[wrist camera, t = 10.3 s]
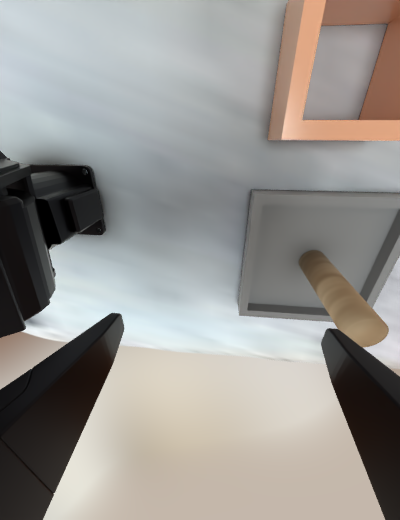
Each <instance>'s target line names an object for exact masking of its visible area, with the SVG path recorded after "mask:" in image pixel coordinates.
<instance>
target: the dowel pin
mask: <svg viewBox="0 0 400 520" xmlns="http://www.w3.org/2000/svg"><path fill="white" fill-rule="evenodd" d="M299 266H300V268H301V269H302V271H303V273H304V274H305V276H306V278H307V279H308V281H309V283H310V284H311V286H312V287H313V289H314V291H315V292H316V294H317V296H318V297H319V299H320V300H321V302H322V304H323V305H324V307H325V309H326V310H327V312H328V313H329V315H330V317H331V318H332V320H333V322H334V323H335V325H336V326H337V328H338V329H339V330H340V331H342V332H343V333H344V334H345V335H347V336H348V337H349V338H351V339H352V340H353V341H354V342H356V343H357V344H358V345H360V346H361V347H369V346H372V345H375V344H377V343H379V342H381V341H382V340H383V339H384V338H385V337H386V336H387V334H388V331H389V329H388V326H387V325H386V323H385V322H384V321H383V320H382V319H381V318H380V317H379V316H378V314H377V313H376V312H375V311H374V310H373V309H372V308H371V307H370V305H369V304H368V303H367V302H366V301H365V300H364V299H363V298H362V297H361V295H360V294H359V293H358V292H357V291H356V290H355V289H354V288H353V286H352V285H351V284H350V283H349V282H348V281H347V280H346V279H345V277H344V276H343V275H342V274H341V273H340V272H339V271H338V270H337V269H336V267H335V266H334V265H333V264H332V263H331V262H330V261H329V260H328V258H327V257H326V256H325V255H324V254H323V253H322V252H320V251H318V250H311V251H308V252H306V253H304V254H303V255H302V256H301V258H300V260H299Z"/></svg>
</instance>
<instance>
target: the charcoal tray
mask: <svg viewBox="0 0 400 520" xmlns="http://www.w3.org/2000/svg"><path fill="white" fill-rule="evenodd" d="M311 250H318V251H320V252H322V253H323V254H324V255H325V256H326V257H327V258H328V260H329V261H330V262H331V263H332V264H333V265H334V266H335V267H336V269H337V270H338V271H339V272H340V273H341V274H342V275H343V276H344V277H345V279H346V280H347V281H348V282H349V283H350V284H351V285H352V286H353V288H354V289H355V290H356V291H357V292H358V293H359V294H360V295H361V297H362V298H363V299H364V300H365V301H366V302H367V303H368V304H369V305H370V307H371V308H372V307H373V306H374V304H375V302H376V300H377V298H378V296H379V294H380V292H381V290H382V288H383V286H384V284H385V283H386V281H387V279H388V277H389V275H390V273H391V271H392V269H393V267H394V265H395V263H396V261H397V260H398V258H399V256H400V193H379V192H338V191H297V190H256V189H251V198H250V206H249V214H248V223H247V231H246V239H245V248H244V256H243V264H242V273H241V281H240V290H239V298H238V310H239V315H240V316H254V317H269V318H283V319H297V320H312V321H326V322H333V320H332V318H331V317H330V315H329V313H328V312H327V310H326V309H325V307H324V305H323V304H322V302H321V300H320V299H319V297H318V296H317V294H316V292H315V291H314V289H313V287H312V286H311V284H310V283H309V281H308V279H307V278H306V276H305V274H304V273H303V271H302V269H301V268H300V266H299V260H300V258H301V256H302V255H303V254H304V253H306V252H308V251H311Z"/></svg>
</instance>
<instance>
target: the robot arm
mask: <svg viewBox="0 0 400 520" xmlns="http://www.w3.org/2000/svg"><path fill="white" fill-rule="evenodd" d="M85 169H86V170H87V172H88V174H86V173H85ZM103 216H104V215H103V211H102V206H101V202H100V197H99V193H98V191H97V189H96V185H95V180H94V176H93V171H92V169H91V168H90V167H89V166H86V165H35V164H21V163H19V162H15V161H11V160H10V158H7V157H6V156H5V155H4V154H3V153H2V152H1V151H0V338H1V337H3V336H7V335H10V334H14V333H17V332H20V331H23V330H25V329H26V326H25V323H24V321H26V320H28V319H29V318H31V317H33V316H34V315H36V314H38V313H39V312H41V311H42V310H43V309H44V308H45V307H46V306H48V305H49V303H50V300H49V299H50V298H51V296H52V294H53V292H54V291H55V279H54V277H55V275H56V273H55V269H54V268H53V267H52V263H51V259H50V254H49V250H50V249H52V248H53V247H55V246H57V245H58V244H62V243H63V242H65V241H66V240H68V239H69V238H71V237H73V236H74V235H76V234H85V235H102V234H103V233H105V225H104V221H103ZM98 228H99V229H101V231H99V230H98ZM123 332H124V324H123V319H122V315H121V314H119V313H111V314H109V315H108V316H106V317H105V318H103V319H102V320H101V321H99V322H98V323H96V324H95V325H93V326H92V327H91V328H89V329H88V330H86V331H85V332H83V333H82V334H80V335H79V336H78V337H76V338H75V339H73V340H72V341H70V342H69V343H68V344H66V345H65V346H63V347H62V348H60V349H59V350H58V351H56V352H55V353H53V354H52V355H50V356H49V357H47V358H46V359H45V360H43V361H42V362H40V363H39V364H37V365H36V366H35V367H33V368H32V369H30V370H29V371H27V372H26V373H24V374H23V375H21V376H20V377H19V378H17V379H16V380H14V381H13V382H11V383H10V384H8V385H7V386H5V387H4V388H2V389H1V390H0V520H43V518H44V516H45V513H46V511H47V508H48V507H49V505H50V502H51V500H52V498H53V496H54V494H53V493H55V491H56V489H57V486H58V484H59V482H60V480H61V478H62V475H63V473H64V471H65V469H66V466H67V464H68V462H69V460H70V458H71V455H72V453H73V451H74V449H75V447H76V444H77V442H78V440H79V438H80V436H81V433H82V431H83V429H84V427H85V425H86V422H87V420H88V418H89V416H90V413H91V411H92V409H93V407H94V404H95V402H96V400H97V398H98V396H99V394H100V391H101V389H102V387H103V385H104V383H105V380H106V378H107V376H108V373H109V371H110V369H111V367H112V365H113V362H114V359H115V356H116V353H117V350H118V347H119V344H120V341H121V338H122V335H123ZM321 346H322V350H323V354H324V357H325V361H326V365H327V368H328V372H329V375H330V379H331V382H332V385H333V388H334V390H335V393H336V395H337V398H338V401H339V403H340V406H341V408H342V411H343V413H344V416H345V418H346V421H347V423H348V426H349V429H350V431H351V434H352V436H353V438H354V441H355V444H356V446H357V449H358V451H359V454H360V456H361V459H362V461H363V464H364V466H365V469H366V471H367V474H368V477H369V479H370V482H371V484H372V487H373V490H374V492H375V495H376V497H377V499H378V502H379V505H380V507H381V510H382V512H383V515H384V517H385V520H400V377H399V376H398V375H397V374H396V373H394V372H393V371H392V370H390V369H389V368H388V367H387V366H385V365H384V364H383V363H381V362H380V361H379V360H378V359H376V358H375V357H374V356H372V355H371V354H370V353H369V352H367V351H366V350H365V349H363V348H362V347H361V346H360V345H358V344H357V343H356V342H354V341H353V340H352V339H351V338H349V337H348V336H347V335H345V334H344V333H343V332H342V331H340V330H339V329H331V328H329V329H327V330H326V332H325V334H324V337H323V339H322V342H321Z"/></svg>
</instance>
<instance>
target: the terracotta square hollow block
mask: <svg viewBox="0 0 400 520" xmlns="http://www.w3.org/2000/svg"><path fill="white" fill-rule="evenodd" d="M359 24H388V26H387V30H386V33H385V36H384V39H383V43H382V46H381V49H380V52H379V56H378V59H377V62H376V65H375V69H374V72H373V75H372V78H371V82H370V85H369V88H368V91H367V94H366V98H365V101H364V104H363V107H362V111H361V114H360V117H359V120H302V118H303V113H304V108H305V103H306V98H307V93H308V88H309V83H310V78H311V73H312V68H313V63H314V58H315V53H316V48H317V43H318V38H319V33H320V28H321V26H329V25H359ZM268 140H320V141H400V0H288V3H287V5H286V12H285V20H284V27H283V34H282V41H281V48H280V55H279V62H278V70H277V77H276V84H275V91H274V98H273V105H272V112H271V120H270V127H269V134H268Z"/></svg>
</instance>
